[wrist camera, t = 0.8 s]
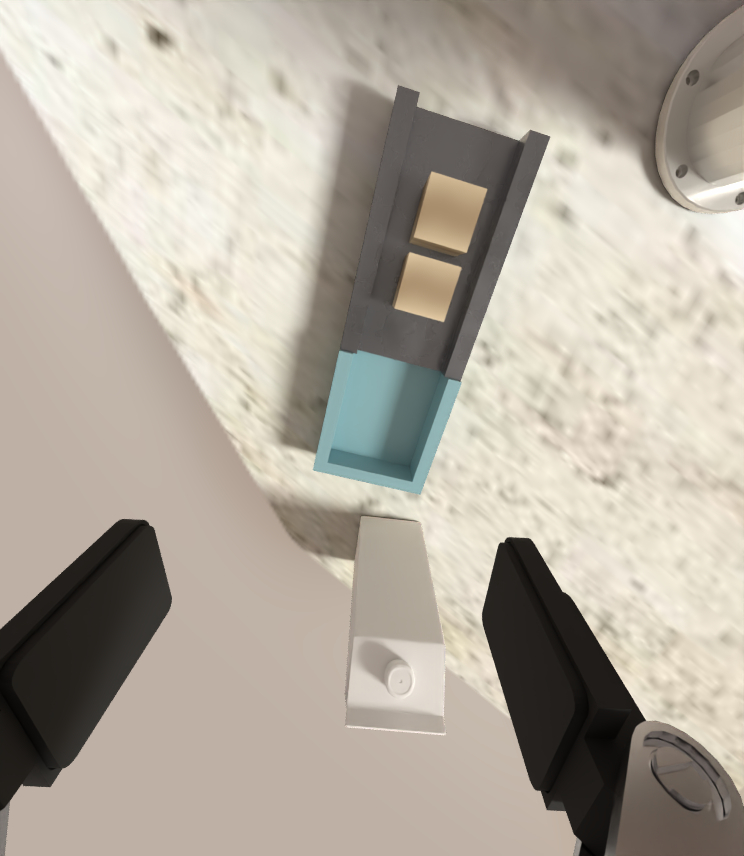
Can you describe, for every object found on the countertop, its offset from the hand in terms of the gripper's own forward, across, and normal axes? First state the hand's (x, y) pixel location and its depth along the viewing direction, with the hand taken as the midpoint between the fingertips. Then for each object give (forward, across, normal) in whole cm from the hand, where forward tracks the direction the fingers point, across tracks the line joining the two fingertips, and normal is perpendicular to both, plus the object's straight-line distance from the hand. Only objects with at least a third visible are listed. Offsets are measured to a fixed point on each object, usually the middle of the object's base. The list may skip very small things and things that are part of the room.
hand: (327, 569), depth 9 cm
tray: (+26, -2, +5) cm, 26 cm away
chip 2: (+25, -5, -7) cm, 26 cm away
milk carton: (+26, -4, +22) cm, 34 cm away
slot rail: (+26, -5, -9) cm, 28 cm away
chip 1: (+25, -6, -12) cm, 28 cm away
